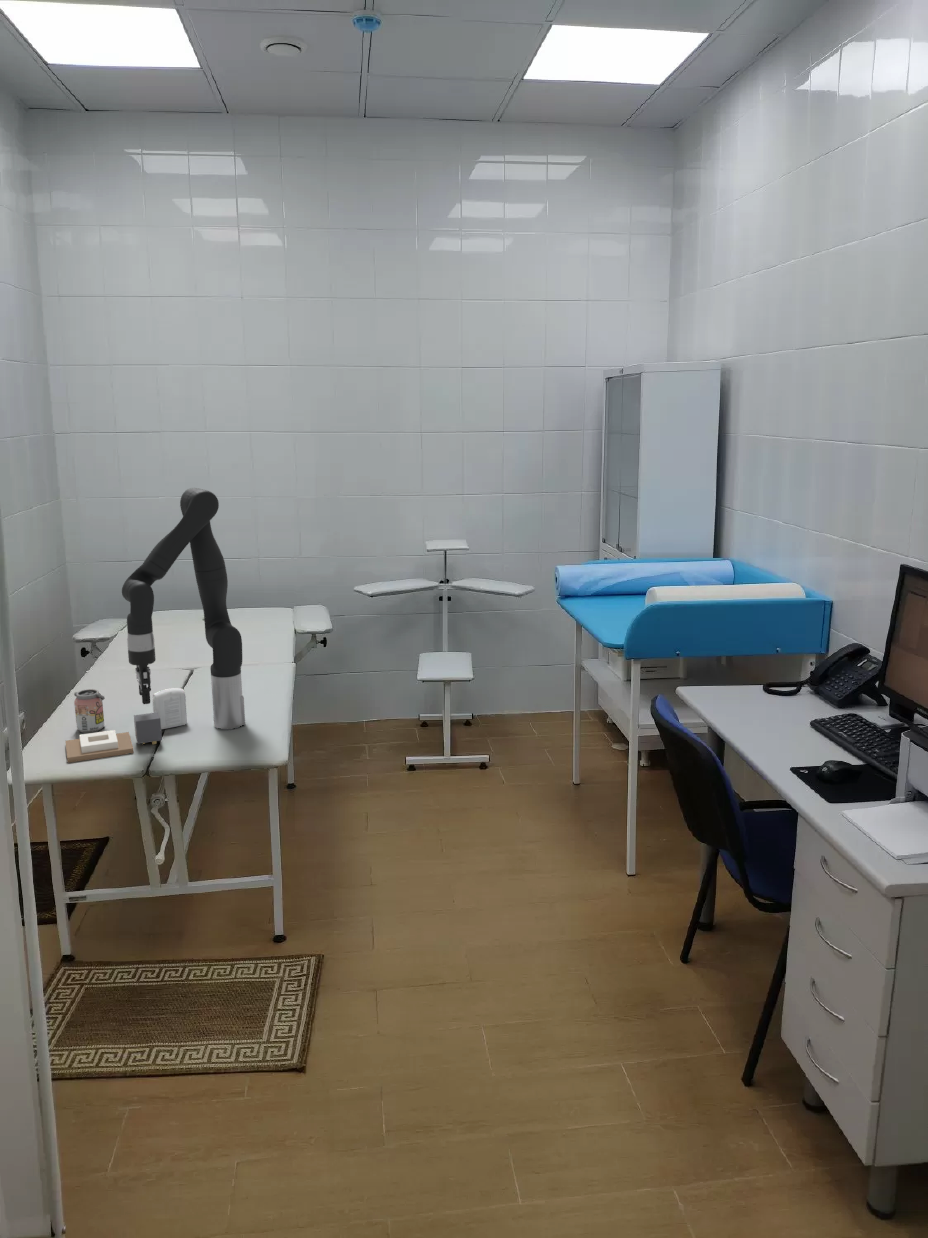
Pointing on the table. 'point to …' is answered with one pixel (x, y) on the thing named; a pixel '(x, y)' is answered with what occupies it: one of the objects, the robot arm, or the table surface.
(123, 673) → the table surface
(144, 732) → the plug
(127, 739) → the socket
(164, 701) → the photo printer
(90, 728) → the beverage can
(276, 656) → the table surface
